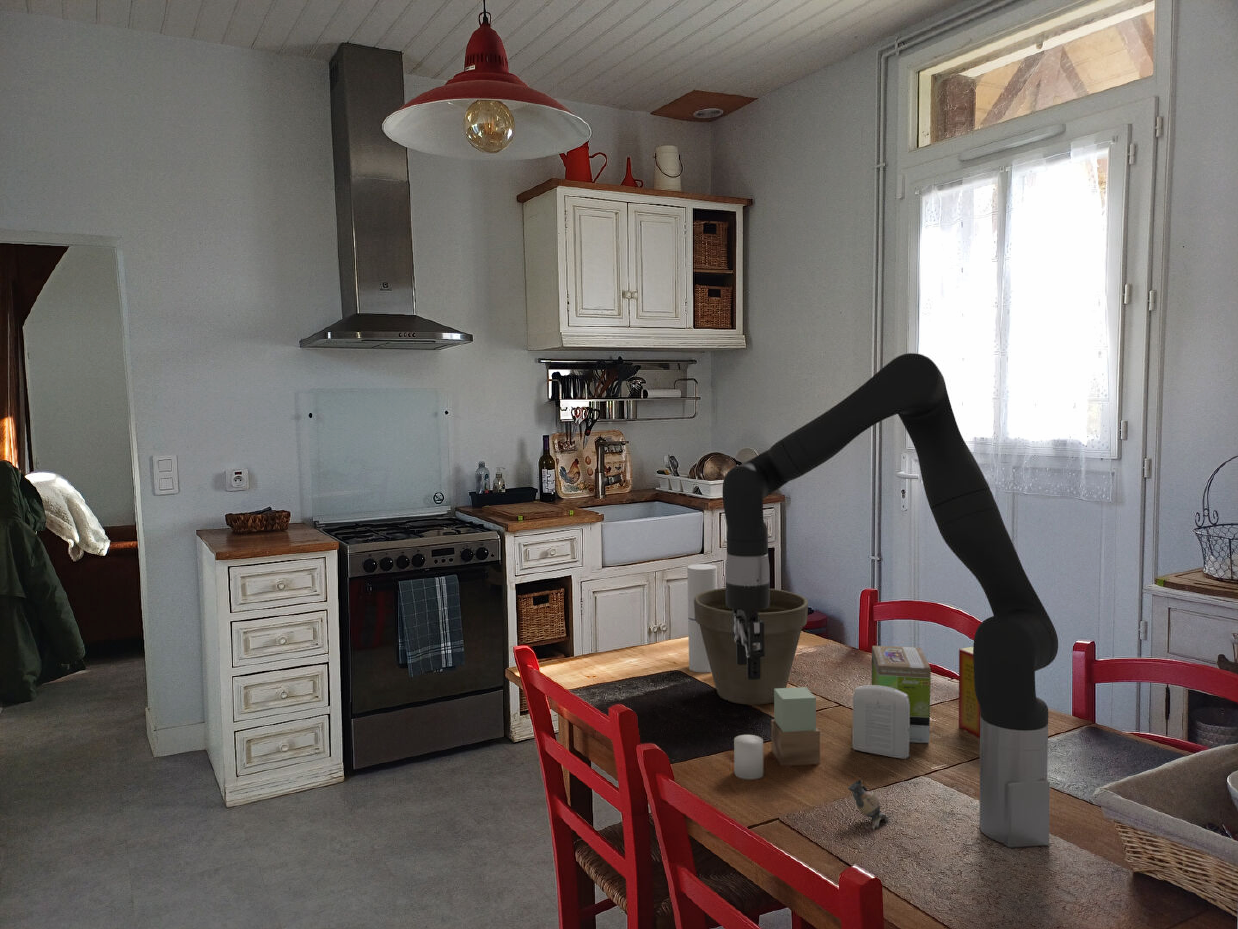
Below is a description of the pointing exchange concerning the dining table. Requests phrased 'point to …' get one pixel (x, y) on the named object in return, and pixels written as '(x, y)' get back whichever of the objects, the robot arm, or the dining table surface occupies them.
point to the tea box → (906, 683)
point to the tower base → (795, 746)
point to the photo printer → (881, 721)
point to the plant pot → (779, 645)
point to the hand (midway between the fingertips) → (748, 671)
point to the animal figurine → (867, 803)
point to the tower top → (795, 709)
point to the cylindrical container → (698, 582)
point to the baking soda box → (968, 694)
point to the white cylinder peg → (748, 756)
